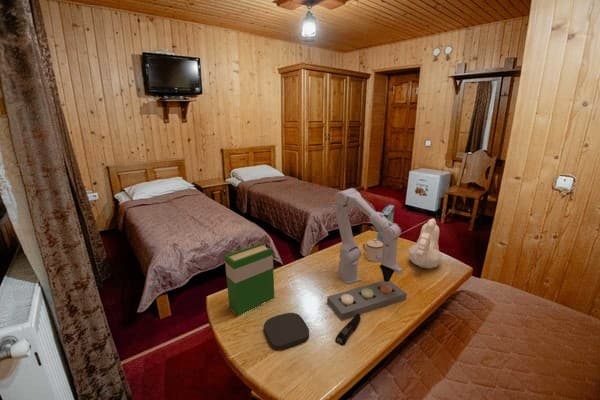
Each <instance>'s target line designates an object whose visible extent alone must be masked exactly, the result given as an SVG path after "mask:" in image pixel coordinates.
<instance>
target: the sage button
mask: <svg viewBox="0 0 600 400" xmlns="http://www.w3.org/2000/svg"><path fill="white" fill-rule="evenodd" d="M373 294H374V292H373V291H372V290H371V289H368V288H365V289H362V291H361V296H362V297H363V298H364V299H365V300H369V299H372V298H373Z"/></svg>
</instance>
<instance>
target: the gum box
mask: <svg viewBox="0 0 600 400" xmlns="http://www.w3.org/2000/svg"><path fill="white" fill-rule="evenodd" d="M380 213H383V214H384V217H385V218H387V219H388V220H389V221H390V222H392V223H394V213H395V205H393V204H386V206H385V207H383V209H382V210H381V211H380ZM376 239H377V240H378V241H381V242H382V243H383V238H382V236H381V232H380V231H379V230H378V229H377V238H376Z"/></svg>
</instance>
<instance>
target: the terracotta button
mask: <svg viewBox="0 0 600 400" xmlns="http://www.w3.org/2000/svg"><path fill="white" fill-rule="evenodd" d="M380 290H381V291H382V292H383V293H384V294H388V293H391V292H392V287H391V286H389V285H381V286H380Z"/></svg>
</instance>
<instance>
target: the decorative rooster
mask: <svg viewBox="0 0 600 400" xmlns="http://www.w3.org/2000/svg"><path fill="white" fill-rule="evenodd" d="M439 237H440V227H439V225H437V221H436V219H435V218H431V219H429V220H428V221H427V222H426V223H424V224H423V225H422V227H421V230H420V233H419V237H418V239H417V240H416V244H414V245H412V246H411V247H409V249H408V252H407V253H408V259H409V260H410V261H411V262H412V263H413V264H414V265H415V266H417V267H420V268H423V269H428V270H429V269H433V268H438V266H439V265H440V263H441V259H442V255H441V252H440V250H439Z"/></svg>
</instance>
